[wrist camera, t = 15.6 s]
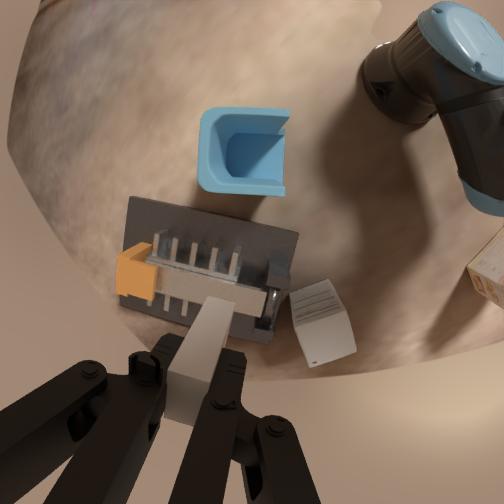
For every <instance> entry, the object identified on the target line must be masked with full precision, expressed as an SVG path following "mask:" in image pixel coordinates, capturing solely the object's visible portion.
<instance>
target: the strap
mask: <svg viewBox="0 0 504 504" xmlns="http://www.w3.org/2000/svg"><path fill="white" fill-rule="evenodd" d="M143 263H147V264H151V265H155V266H158V269H157V278H156V287H155V291H157V292H161V293H164V294H168V295H172V296H175V297H179V298H183V299H187V300H190V301H194V302H198V303H202V304H204V303H205V301H206V299H207V298H208V296H211V297H215V298H218V299H222V300H226V301H230V302H234V303H235V308H234V312H239V313H243V314H247V315H252V316H256V317H261V314H262V310H263V306H264V302H265V299H266V295H267V290H265V289H261V288H256V287H252V286H248V285H243V284H239V283H235V282H231V281H226V280H222V279H218V278H214V277H210V276H206V275H202V274H198V273H194V272H190V271H186V270H182V269H178V268H174V267H170V266H167V265H163V264H159V263H155V262H151V261H148V260H144V261H143ZM280 291H281V289H280V288H276V287H271V286H270V288H269V292H268V295H267V299H266V303H265V307H264V310H263V314H262V318H261V321H260V323H261V324H262V325H264V326H270V325H271V322H272V319H273V316H274V312H275V309H276V305H277V302H278V298H279V295H280Z"/></svg>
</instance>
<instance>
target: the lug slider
mask: <svg viewBox="0 0 504 504" xmlns="http://www.w3.org/2000/svg"><path fill="white" fill-rule="evenodd" d="M151 251H152V244H148V243H144V242H141V243H139V244H137V245H135V246H133V247H131V248H129V249H128V250H126V251H124V252H122V253H120V254H118V259H117V274H116V293H117V294H120V295H123V296H126V297H127V296H128V295H133V296H136V297H140V298H143V299H146V300H150V301H152V300H153V299H154V297H155V287H156V278H157V269H158V266H155V265H151V264H147V263H143V261H144V260H146V254H148V253H149V252H151Z"/></svg>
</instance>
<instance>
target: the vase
mask: <svg viewBox="0 0 504 504" xmlns="http://www.w3.org/2000/svg"><path fill="white" fill-rule="evenodd" d="M289 117H290V110H289V109H275V108H256V107H215V108H211V109H209V110H207V111H206V112H205V113H204V114H203V115H202V117H201V122H200V134H199V150H198V170H197V178H198V183H199V185H200V186H201V187H202V188H203V189H204V190H205V191H208V192H213V193H227V194H247V195H264V196H278V197H285V190H286V188H285V186H284V185H282V178H283V161H284V143H285V129H282V128H281V127H282V126H283V125H284V124H285V122H286V121H287V120H288V119H289Z"/></svg>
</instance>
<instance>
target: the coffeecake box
mask: <svg viewBox="0 0 504 504" xmlns="http://www.w3.org/2000/svg"><path fill="white" fill-rule="evenodd" d="M466 267H467V269H468V272H469V275H470V278H471V280H472V284H473V287H474V289H475V290H476V291H477V292H479V293H480V294H482V295H483V296H485V297H486V298H488V299H489V300H491V301H492V302H493V303H495V304H496V305H498V306H499V307H501V308H502V309H504V226H503V228H502V229H501V230H500V231H499V232H498V233H497V234H496V236H495V237H494V238H493V239H492V240H491V241H490V242H489V243H488V244H487V245H486V247H485V248H484V249H483V250H482V251H481V252H480V253H479V254H478V255H477V256H476V257H475V258H474V259H473V260H472V261H471V262H470V263H469V264H468V265H467V266H466Z"/></svg>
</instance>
